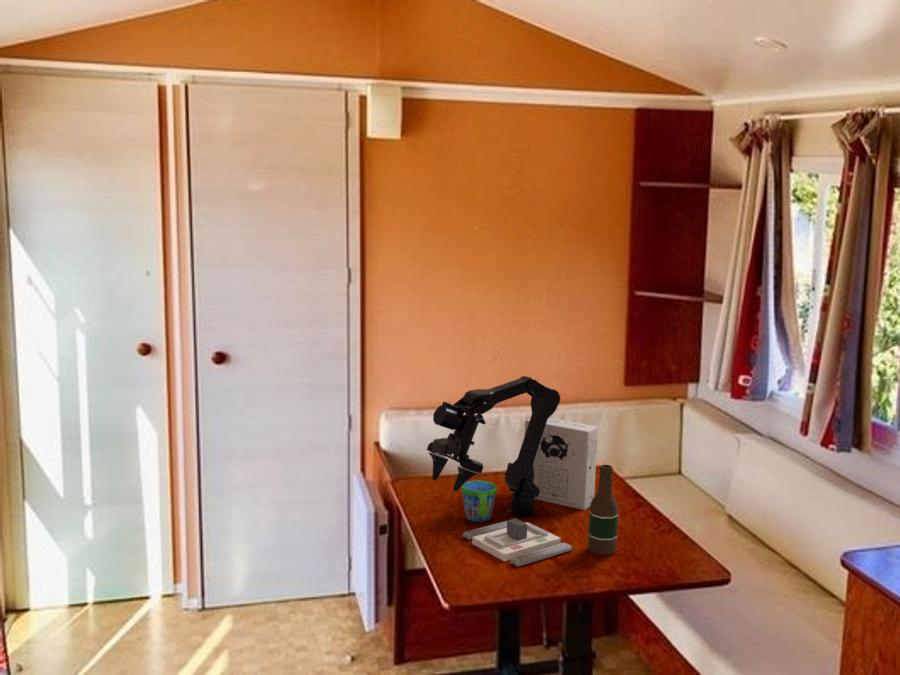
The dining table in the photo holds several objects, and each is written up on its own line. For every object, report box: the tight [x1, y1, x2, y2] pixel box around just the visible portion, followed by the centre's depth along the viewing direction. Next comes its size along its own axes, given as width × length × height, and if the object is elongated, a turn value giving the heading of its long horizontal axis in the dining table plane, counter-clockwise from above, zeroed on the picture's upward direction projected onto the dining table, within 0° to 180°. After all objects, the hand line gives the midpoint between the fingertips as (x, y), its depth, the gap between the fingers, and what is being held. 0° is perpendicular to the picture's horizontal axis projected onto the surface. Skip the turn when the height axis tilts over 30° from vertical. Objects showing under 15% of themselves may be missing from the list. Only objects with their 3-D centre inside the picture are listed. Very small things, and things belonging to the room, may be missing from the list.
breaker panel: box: [471, 522, 562, 563], centre depth 248 cm, size 20×14×3 cm
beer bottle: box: [587, 464, 619, 556], centre depth 243 cm, size 8×8×24 cm
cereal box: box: [524, 417, 599, 511], centre depth 282 cm, size 22×8×25 cm, turn 58°
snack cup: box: [460, 480, 498, 523], centre depth 266 cm, size 16×10×10 cm
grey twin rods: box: [462, 520, 573, 568], centre depth 248 cm, size 20×24×2 cm
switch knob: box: [506, 518, 527, 540], centre depth 247 cm, size 3×5×4 cm, turn 36°
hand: (444, 485), depth 254 cm, fingers open, 9 cm apart
